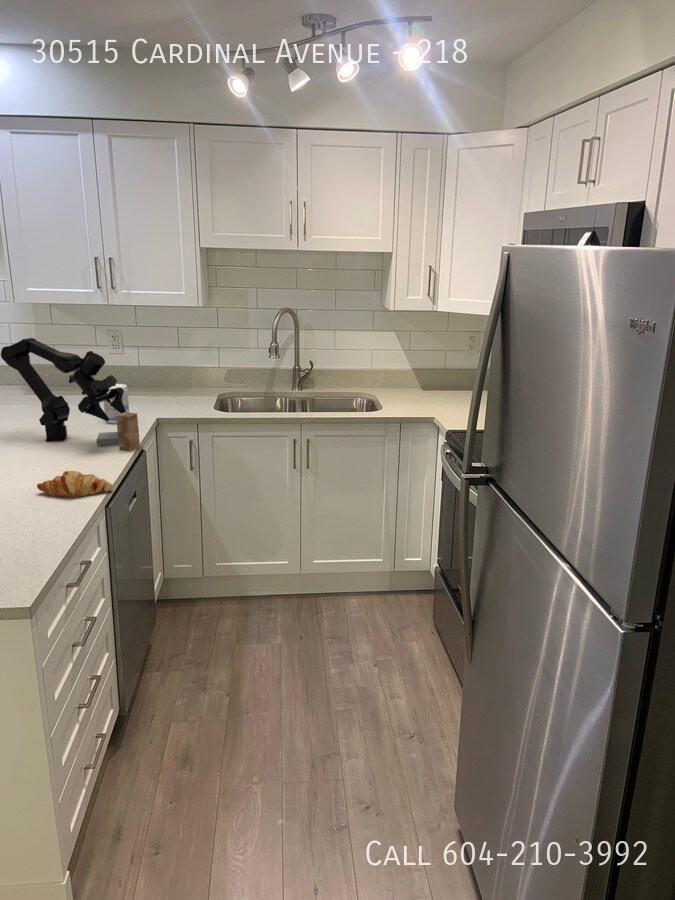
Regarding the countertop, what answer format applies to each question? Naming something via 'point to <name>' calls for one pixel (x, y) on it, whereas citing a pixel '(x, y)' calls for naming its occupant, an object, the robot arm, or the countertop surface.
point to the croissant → (74, 485)
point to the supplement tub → (112, 411)
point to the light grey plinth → (107, 439)
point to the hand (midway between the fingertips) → (117, 417)
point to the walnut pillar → (128, 431)
